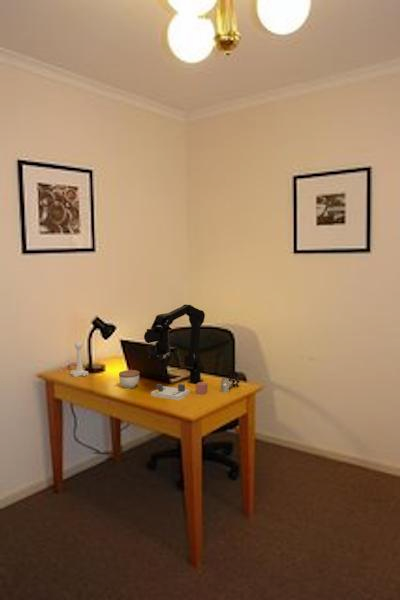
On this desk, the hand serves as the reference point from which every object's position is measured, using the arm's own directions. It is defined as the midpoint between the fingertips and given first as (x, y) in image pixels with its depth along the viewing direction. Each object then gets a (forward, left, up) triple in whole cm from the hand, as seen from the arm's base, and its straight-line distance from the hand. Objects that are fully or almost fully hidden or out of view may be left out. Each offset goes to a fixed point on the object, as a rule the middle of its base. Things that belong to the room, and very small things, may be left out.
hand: (164, 370), depth 236 cm
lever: (0, +10, -9) cm, 14 cm away
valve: (-17, +28, -12) cm, 35 cm away
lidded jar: (0, -22, -12) cm, 25 cm away
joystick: (-6, -63, -12) cm, 64 cm away
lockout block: (-6, +18, -12) cm, 22 cm away
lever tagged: (+5, 0, -9) cm, 11 cm away
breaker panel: (+3, +5, -12) cm, 13 cm away
